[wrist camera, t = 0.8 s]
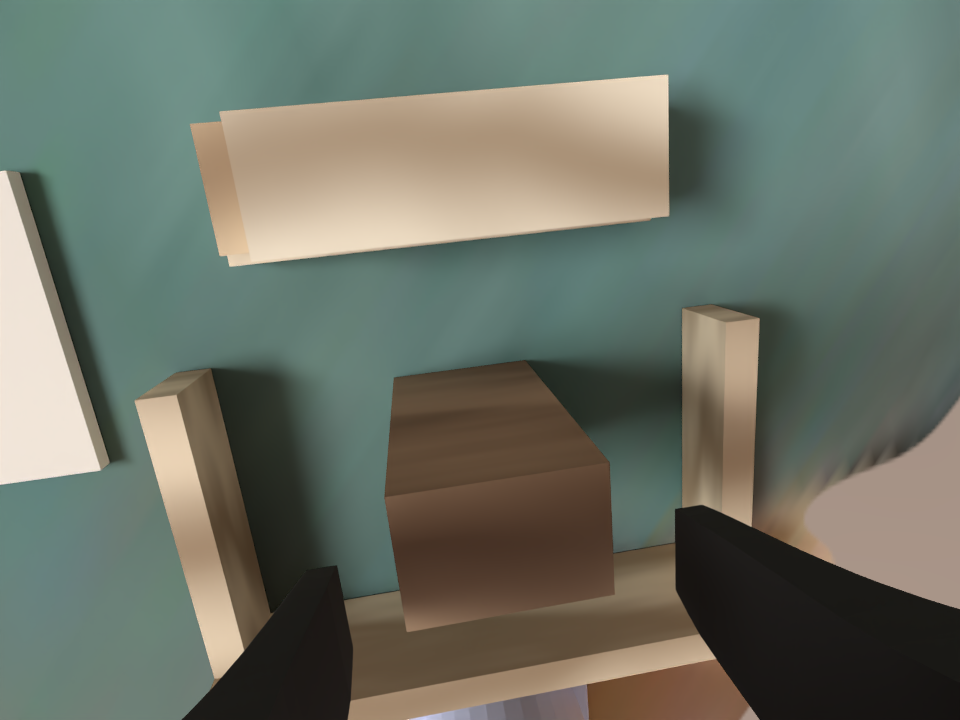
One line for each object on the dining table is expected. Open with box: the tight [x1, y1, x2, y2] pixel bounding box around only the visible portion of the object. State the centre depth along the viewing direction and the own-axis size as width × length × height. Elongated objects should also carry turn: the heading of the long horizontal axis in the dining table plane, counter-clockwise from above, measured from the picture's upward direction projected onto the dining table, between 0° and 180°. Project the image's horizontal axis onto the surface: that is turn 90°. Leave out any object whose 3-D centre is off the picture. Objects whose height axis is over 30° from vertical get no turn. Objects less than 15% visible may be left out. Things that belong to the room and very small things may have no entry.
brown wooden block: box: [384, 360, 615, 632], centre depth 17 cm, size 4×5×9 cm
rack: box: [135, 304, 760, 720], centre depth 19 cm, size 12×20×5 cm, turn 96°
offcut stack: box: [190, 75, 669, 267], centre depth 17 cm, size 4×14×4 cm, turn 96°
